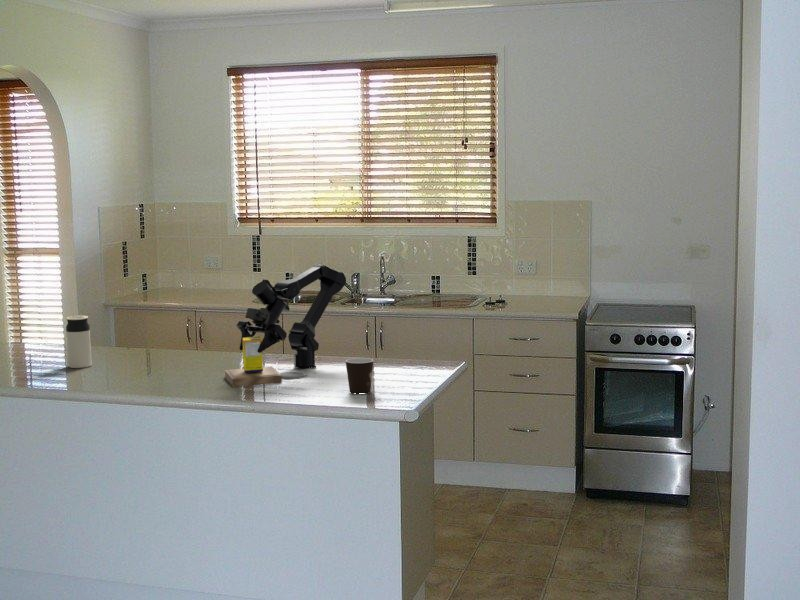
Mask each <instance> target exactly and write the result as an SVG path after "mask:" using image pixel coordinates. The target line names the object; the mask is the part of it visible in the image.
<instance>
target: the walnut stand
mask: <svg viewBox="0 0 800 600" xmlns="http://www.w3.org/2000/svg"><path fill="white" fill-rule="evenodd" d="M280 373H281V372H279V371H278V370H277V369H275V368H274V367H273V366H263V371H260V372H248V373H245V371H244V368H235V369H234V368H232V369H225V370H224V378H225V379H226V380H227V382H228V383H229V385H231V387H232V388H235V387H247V386H249V387H250V386H259V385H260V386H261V384H262V385H272V384H271V383H274V384H282V383H283V379H282V375H281V374H280ZM281 382H282V383H281Z"/></svg>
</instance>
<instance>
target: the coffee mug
mask: <svg viewBox="0 0 800 600" xmlns="http://www.w3.org/2000/svg"><path fill="white" fill-rule="evenodd" d="M345 366H346V375H347V382H348V389H349V393H350V392H351V393H356V394H355V395H357V394H359V393H368V392H370V393H371V391H372V390H371V389H372V380H373V369H374V368H373V367H374V359H373V358H369V357H353V358H348V359H346V360H345ZM351 393H350V394H351ZM368 394H369V393H368Z"/></svg>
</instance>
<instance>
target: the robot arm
mask: <svg viewBox="0 0 800 600" xmlns="http://www.w3.org/2000/svg"><path fill="white" fill-rule="evenodd" d="M317 280H318V281H319V287H320V289H319V291H318V293H317V295H316V297H315V299H314V300H313V302H312V304H311V306H310V307H309V309H308V311H307V312H306V314H305V316H304V317H303V319H302V321H300V322H293V324H292V327H291V329H289V331H288V332H289V333H288V337H287V332H286V330H285V329H284V328H283V327H282V326H281V324H280V322H281V321H280V320H279V318H280V316H281V315H282V313H283V311H288V312H289V311H291V309H290V306H289V302H286V301H285V300H290V301H291V300H294V299H295V298H296V297H297V296H298V295H300V293H301V290H302V289H304V288H306V287H307V286H309V285H310V284H312V283H314V282H316V281H317ZM346 283H347V277H346V276H345V273H344V272H342V271H337V270H335V269H332V268H330V267H329V266H327V265H324V264H314V265H313V266H312V267H310V268H308V269H307V270H305V271H304V272H302V273H300V274H299V275H297V276H295V277H293V278H290V279H284V280H280V281H278V282H276V283H275V284H274V286H273V285H272V284H271V282H270V281H269V280H268V279H264V278H263V279H262V281H260V282H258V283H257V284H255V285H253V287H252V289H251V293H252V295H254V297H255V298H256V299H257V300H258V301H259V302H260V303H261V305H263V306H265V307H260V309H258V308H251V307H250V308H249V307H247V308H246V312H245V313H246V314H245V318H246V319H250V320H251V322H250V321H248V320H239V321H238V322H237V323H236V328H238V330H239V331H240V332H241V338H240V343H239V350H240V351H242V352H243V342H242V338H244V337H255V335H256V334H257V333H258V334H259V333H261V334H264V337H263V339H261V340H262V342H261V344H260V346H259V348H258V351H257V352H258V353H261V352H262V353H263V352H264V351H265V350H266V349H268V348H270V347H272V346H273V345H275V344H277V343H280V341H283V342H284V341H286V339H287V338H288V341H289V345H290V348H291V350H292V351H294V354H293V366H294V367H295V368H296V369H297V370H303V369H304V370H305V369H316V368H317V365H316V361H315V360H316V355H315V352H316V351H318V350H319V347H320V343H318V341H317V340H316V339H315V336H316V327H317V325H318V323H319V321H320V319H321V318H322V316H323V314H324V312H325V310H326V309H327V307H328V305H329V304H330V302H331V300H332V299H333V297H334V296H336V295H337V294H338V293H340V292H342V290H343V288H344V287H345V286H346ZM253 324H254V325H253Z"/></svg>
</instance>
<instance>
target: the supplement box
mask: <svg viewBox="0 0 800 600" xmlns="http://www.w3.org/2000/svg"><path fill="white" fill-rule="evenodd" d="M262 340H263V339H262V338H261V336H253V337H244V338H242V342H243V350H242V359H243V360H242V362H243V369H244V371H245V373H248V372H260V371H263V367H264V363H263V351H262V352H261V353H258V352H257V351H258V348H259V346H260V344H261V342H262Z"/></svg>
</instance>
